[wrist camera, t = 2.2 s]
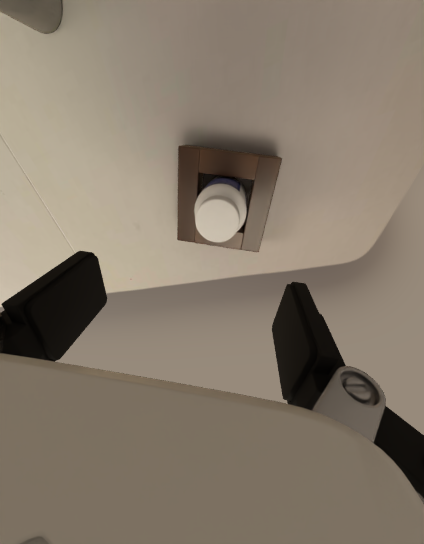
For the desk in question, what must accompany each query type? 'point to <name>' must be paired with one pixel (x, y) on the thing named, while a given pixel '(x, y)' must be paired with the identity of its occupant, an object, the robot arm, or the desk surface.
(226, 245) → the holder
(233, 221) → the pill bottle
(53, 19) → the grey hollow tube
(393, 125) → the desk surface
